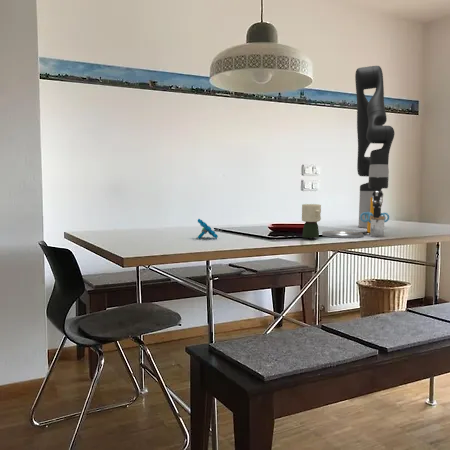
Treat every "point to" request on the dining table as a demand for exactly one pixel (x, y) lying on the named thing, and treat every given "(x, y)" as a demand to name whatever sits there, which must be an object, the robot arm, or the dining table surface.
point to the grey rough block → (377, 226)
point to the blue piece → (206, 229)
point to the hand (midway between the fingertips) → (377, 217)
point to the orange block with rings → (371, 215)
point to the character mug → (311, 220)
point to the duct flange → (342, 234)
